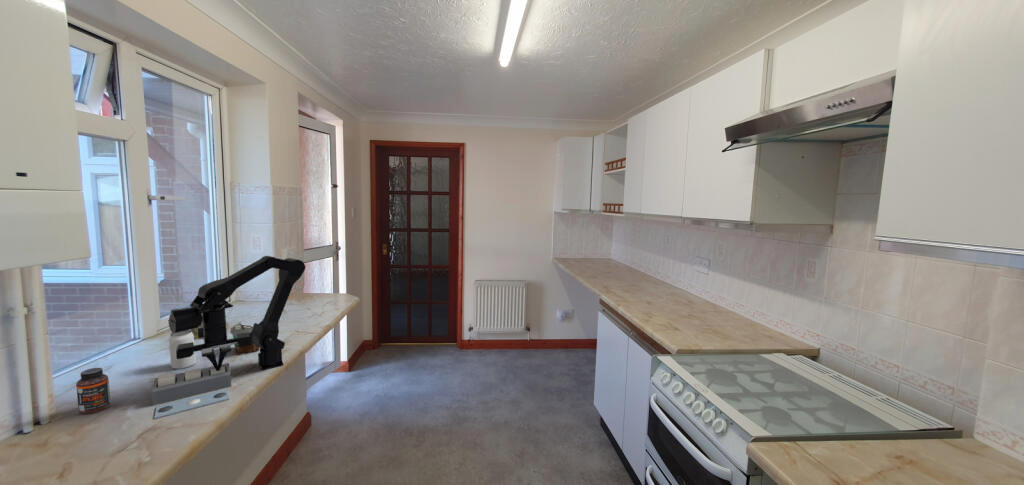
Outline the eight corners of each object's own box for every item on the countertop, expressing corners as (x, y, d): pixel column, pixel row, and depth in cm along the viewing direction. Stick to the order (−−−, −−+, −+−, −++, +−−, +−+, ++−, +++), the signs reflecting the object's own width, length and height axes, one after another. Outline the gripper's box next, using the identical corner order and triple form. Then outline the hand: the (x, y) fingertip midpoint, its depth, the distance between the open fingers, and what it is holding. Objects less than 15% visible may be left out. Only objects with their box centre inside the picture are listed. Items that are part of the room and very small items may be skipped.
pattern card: (227, 389, 115) (227, 388, 114) (229, 399, 109) (229, 398, 109) (156, 407, 104) (156, 405, 104) (154, 419, 99) (154, 417, 99)
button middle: (201, 373, 117) (200, 368, 117) (201, 378, 114) (200, 372, 114) (185, 377, 114) (185, 371, 114) (185, 381, 112) (185, 375, 112)
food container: (224, 351, 141) (222, 326, 140) (240, 345, 147) (239, 321, 146) (244, 357, 137) (243, 331, 136) (261, 351, 142) (260, 326, 141)
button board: (229, 374, 124) (228, 362, 124) (231, 386, 117) (230, 374, 116) (155, 390, 113) (154, 378, 112) (152, 405, 105) (151, 392, 105)
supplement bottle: (81, 417, 99) (76, 378, 97) (76, 410, 102) (72, 371, 100) (113, 407, 104) (109, 369, 102) (108, 400, 107) (104, 363, 105)
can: (181, 370, 126) (178, 337, 124) (166, 368, 127) (163, 335, 125) (200, 362, 132) (198, 330, 130) (186, 360, 133) (183, 328, 132)
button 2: (225, 372, 121) (224, 366, 121) (225, 376, 118) (225, 370, 118) (211, 375, 118) (210, 369, 118) (211, 380, 116) (210, 373, 116)
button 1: (175, 379, 113) (175, 373, 113) (174, 384, 110) (174, 378, 110) (159, 383, 111) (158, 376, 110) (158, 388, 108) (157, 381, 108)
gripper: (248, 311, 128) (250, 354, 130) (176, 322, 116) (180, 368, 118) (251, 320, 120) (254, 365, 122) (174, 332, 108) (178, 382, 110)
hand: (218, 370), depth 118 cm, fingers closed, pressing on button 2
